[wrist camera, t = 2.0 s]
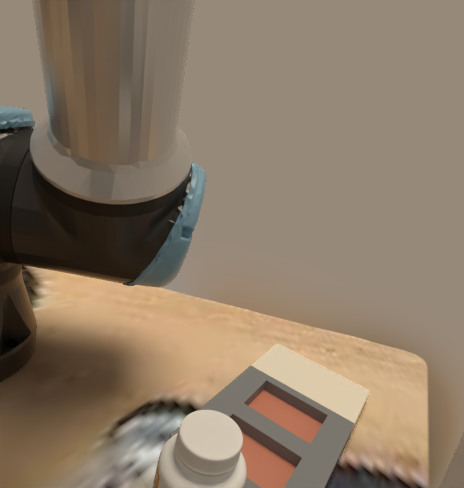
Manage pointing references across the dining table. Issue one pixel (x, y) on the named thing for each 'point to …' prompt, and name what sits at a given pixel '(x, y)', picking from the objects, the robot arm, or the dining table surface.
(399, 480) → the dining table surface
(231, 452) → the supplement bottle
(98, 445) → the dining table surface
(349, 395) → the board
